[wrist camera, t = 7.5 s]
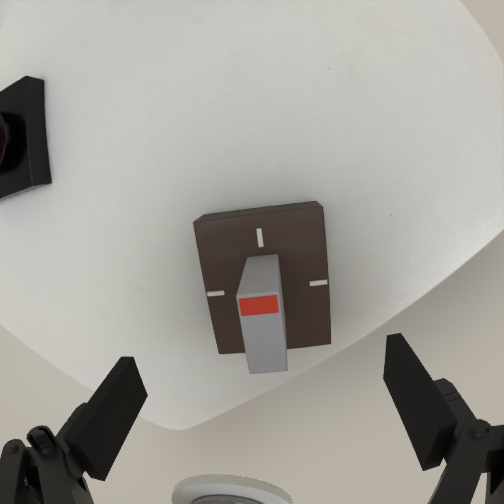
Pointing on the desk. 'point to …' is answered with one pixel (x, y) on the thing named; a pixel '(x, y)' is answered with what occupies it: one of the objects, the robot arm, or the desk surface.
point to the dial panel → (290, 262)
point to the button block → (23, 138)
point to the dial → (263, 315)
